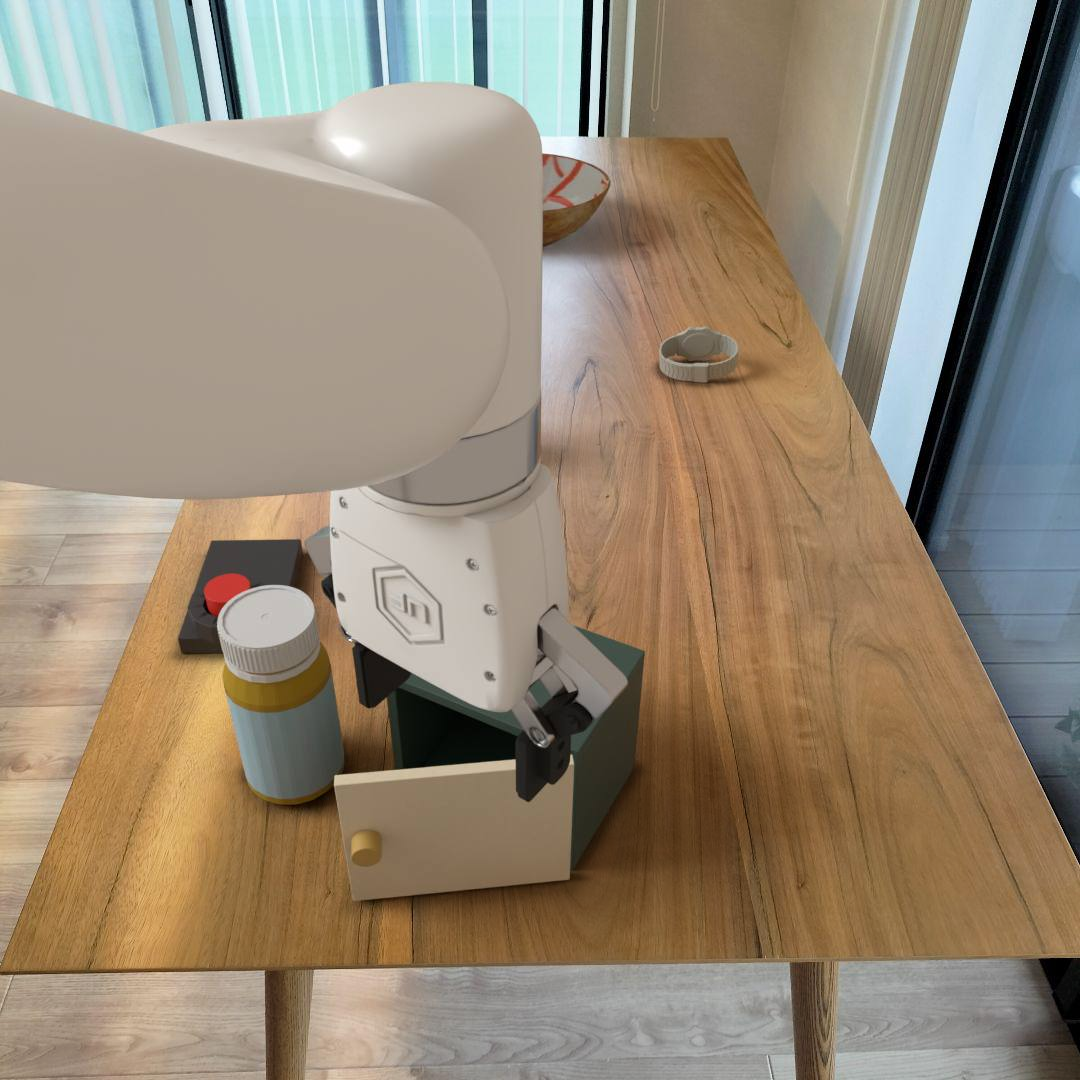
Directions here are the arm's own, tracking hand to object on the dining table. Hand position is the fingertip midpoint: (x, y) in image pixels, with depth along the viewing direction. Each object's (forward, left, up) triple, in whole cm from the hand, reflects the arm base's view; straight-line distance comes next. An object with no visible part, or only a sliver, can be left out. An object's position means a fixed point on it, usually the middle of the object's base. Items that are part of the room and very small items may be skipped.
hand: (460, 733), depth 52 cm
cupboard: (+15, +5, -22) cm, 27 cm away
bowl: (+105, +54, -22) cm, 120 cm away
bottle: (+8, +19, -22) cm, 30 cm away
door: (+4, +3, -21) cm, 22 cm away
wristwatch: (+78, +16, -22) cm, 82 cm away
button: (+17, +33, -18) cm, 42 cm away
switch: (+21, +35, -22) cm, 46 cm away
